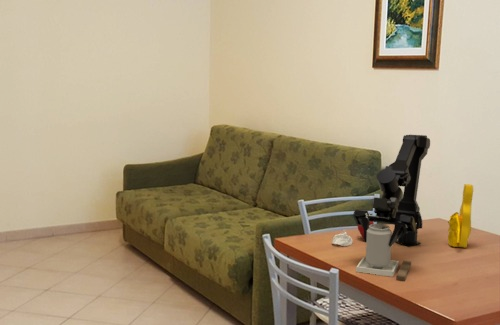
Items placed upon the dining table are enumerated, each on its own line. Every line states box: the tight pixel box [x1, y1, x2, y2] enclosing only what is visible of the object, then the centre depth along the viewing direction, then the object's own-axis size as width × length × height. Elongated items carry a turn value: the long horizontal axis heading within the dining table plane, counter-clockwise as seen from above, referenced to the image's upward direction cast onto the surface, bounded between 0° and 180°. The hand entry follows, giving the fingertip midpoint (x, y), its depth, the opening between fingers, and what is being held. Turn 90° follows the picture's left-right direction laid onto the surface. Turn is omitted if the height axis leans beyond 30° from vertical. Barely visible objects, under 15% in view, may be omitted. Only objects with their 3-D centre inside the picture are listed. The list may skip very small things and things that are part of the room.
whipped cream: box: [331, 231, 354, 247], centre depth 206 cm, size 8×7×5 cm
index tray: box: [355, 256, 399, 278], centre depth 179 cm, size 11×11×2 cm
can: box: [365, 223, 393, 267], centre depth 178 cm, size 8×8×12 cm
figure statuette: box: [447, 184, 474, 249], centre depth 203 cm, size 18×8×22 cm, turn 170°
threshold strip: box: [395, 260, 412, 282], centre depth 176 cm, size 16×2×1 cm, turn 158°
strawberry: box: [356, 221, 375, 240], centre depth 211 cm, size 6×8×10 cm
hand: (377, 243), depth 177 cm, fingers closed on can, 7 cm apart
